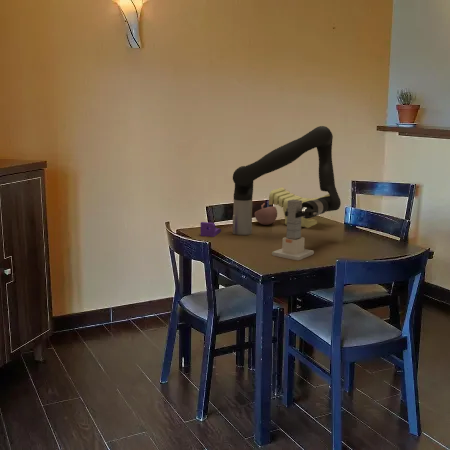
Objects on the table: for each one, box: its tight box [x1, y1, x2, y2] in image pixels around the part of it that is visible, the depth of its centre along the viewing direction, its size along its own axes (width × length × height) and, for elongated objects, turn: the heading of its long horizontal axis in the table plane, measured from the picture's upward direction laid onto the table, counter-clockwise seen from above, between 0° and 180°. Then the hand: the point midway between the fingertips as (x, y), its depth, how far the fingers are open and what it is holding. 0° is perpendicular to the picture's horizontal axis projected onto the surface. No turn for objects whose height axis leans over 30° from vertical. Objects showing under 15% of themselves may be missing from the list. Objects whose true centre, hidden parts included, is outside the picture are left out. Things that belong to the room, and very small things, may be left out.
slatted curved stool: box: [268, 186, 330, 229], centre depth 306 cm, size 30×16×18 cm, turn 58°
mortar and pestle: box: [254, 202, 278, 226], centre depth 306 cm, size 12×12×11 cm
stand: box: [271, 236, 315, 262], centre depth 248 cm, size 13×13×8 cm
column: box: [286, 200, 302, 240], centre depth 246 cm, size 5×5×22 cm
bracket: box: [200, 221, 222, 238], centre depth 285 cm, size 12×7×7 cm, turn 163°
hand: (291, 214), depth 243 cm, fingers closed on column, 4 cm apart
